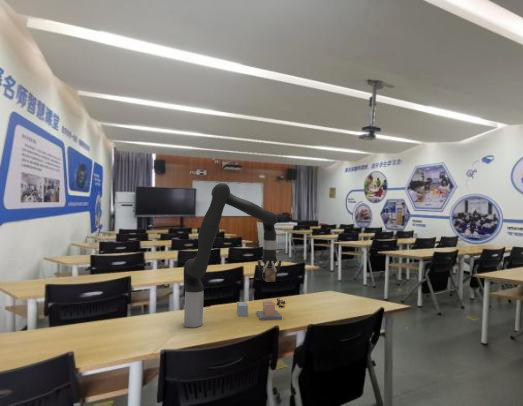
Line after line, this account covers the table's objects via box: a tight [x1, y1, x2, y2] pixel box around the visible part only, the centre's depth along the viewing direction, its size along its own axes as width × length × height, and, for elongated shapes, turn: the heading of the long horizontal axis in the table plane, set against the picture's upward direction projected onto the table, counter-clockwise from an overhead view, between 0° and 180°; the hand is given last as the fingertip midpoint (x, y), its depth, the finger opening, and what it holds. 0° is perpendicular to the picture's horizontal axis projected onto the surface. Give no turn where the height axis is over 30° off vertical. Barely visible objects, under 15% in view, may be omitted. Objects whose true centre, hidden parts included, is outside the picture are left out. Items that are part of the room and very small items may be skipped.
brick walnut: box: [263, 267, 276, 283], centre depth 185 cm, size 5×8×6 cm, turn 11°
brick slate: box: [236, 301, 249, 318], centre depth 188 cm, size 5×8×6 cm, turn 11°
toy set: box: [273, 297, 286, 309], centre depth 207 cm, size 12×11×5 cm
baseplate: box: [255, 300, 283, 321], centre depth 184 cm, size 12×12×8 cm
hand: (269, 278), depth 185 cm, fingers closed on brick walnut, 5 cm apart
